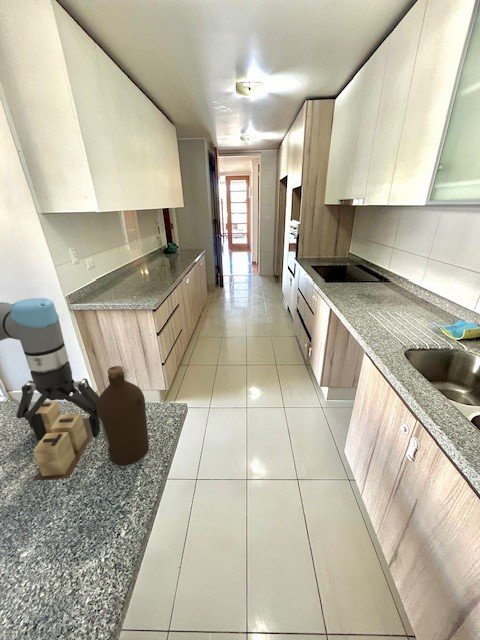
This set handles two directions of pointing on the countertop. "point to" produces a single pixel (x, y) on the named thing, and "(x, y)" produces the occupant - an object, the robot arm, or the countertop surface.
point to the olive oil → (123, 419)
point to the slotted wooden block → (49, 414)
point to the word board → (75, 460)
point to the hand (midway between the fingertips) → (69, 435)
